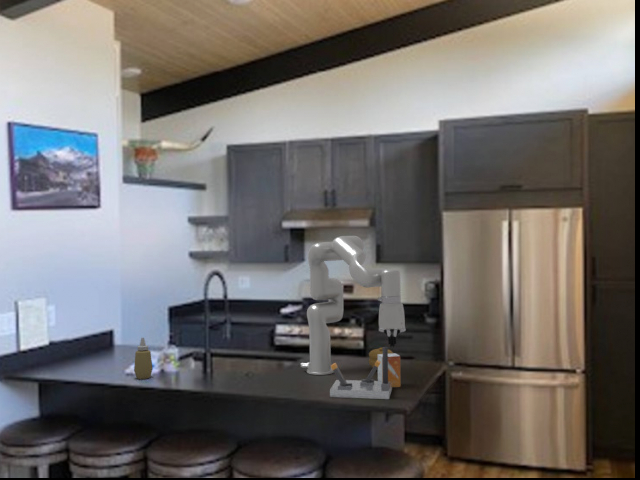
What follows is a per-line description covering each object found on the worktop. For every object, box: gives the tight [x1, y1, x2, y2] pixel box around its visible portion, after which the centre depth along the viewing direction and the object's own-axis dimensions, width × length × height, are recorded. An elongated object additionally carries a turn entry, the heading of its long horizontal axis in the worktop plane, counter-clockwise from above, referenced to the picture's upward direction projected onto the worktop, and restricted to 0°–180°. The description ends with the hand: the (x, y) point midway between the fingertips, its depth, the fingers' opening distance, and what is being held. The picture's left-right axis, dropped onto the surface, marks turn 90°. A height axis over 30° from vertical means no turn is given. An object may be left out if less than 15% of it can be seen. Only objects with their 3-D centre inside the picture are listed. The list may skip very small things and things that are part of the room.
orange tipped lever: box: [331, 362, 347, 386], centre depth 259 cm, size 2×3×9 cm, turn 169°
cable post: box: [381, 346, 390, 390], centre depth 255 cm, size 3×3×16 cm
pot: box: [368, 347, 394, 371], centre depth 305 cm, size 12×12×10 cm
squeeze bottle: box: [133, 337, 153, 380], centre depth 294 cm, size 8×8×18 cm
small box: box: [377, 352, 402, 388], centre depth 273 cm, size 8×6×13 cm
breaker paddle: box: [365, 360, 381, 382], centre depth 264 cm, size 2×3×9 cm, turn 170°
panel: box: [329, 378, 393, 400], centre depth 262 cm, size 23×16×4 cm
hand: (392, 346), depth 262 cm, fingers closed
